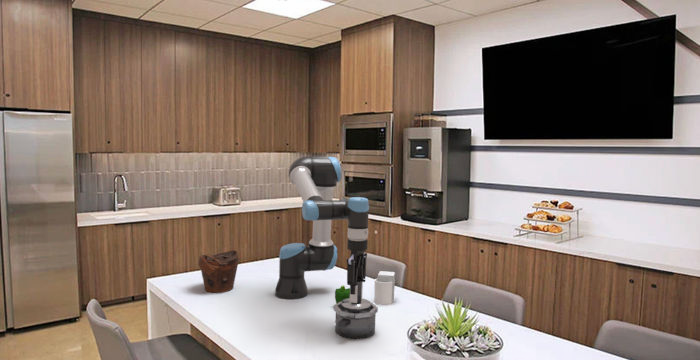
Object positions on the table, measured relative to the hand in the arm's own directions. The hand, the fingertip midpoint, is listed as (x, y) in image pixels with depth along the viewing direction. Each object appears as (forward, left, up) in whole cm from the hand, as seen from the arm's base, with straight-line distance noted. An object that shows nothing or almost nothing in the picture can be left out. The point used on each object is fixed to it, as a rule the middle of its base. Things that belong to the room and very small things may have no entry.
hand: (356, 300), depth 179 cm
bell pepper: (-16, +22, -12) cm, 30 cm away
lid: (0, 0, -2) cm, 2 cm away
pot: (0, 0, -12) cm, 12 cm away
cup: (-3, +39, -12) cm, 41 cm away
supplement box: (-3, +40, -12) cm, 42 cm away
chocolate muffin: (-79, +15, -12) cm, 82 cm away
